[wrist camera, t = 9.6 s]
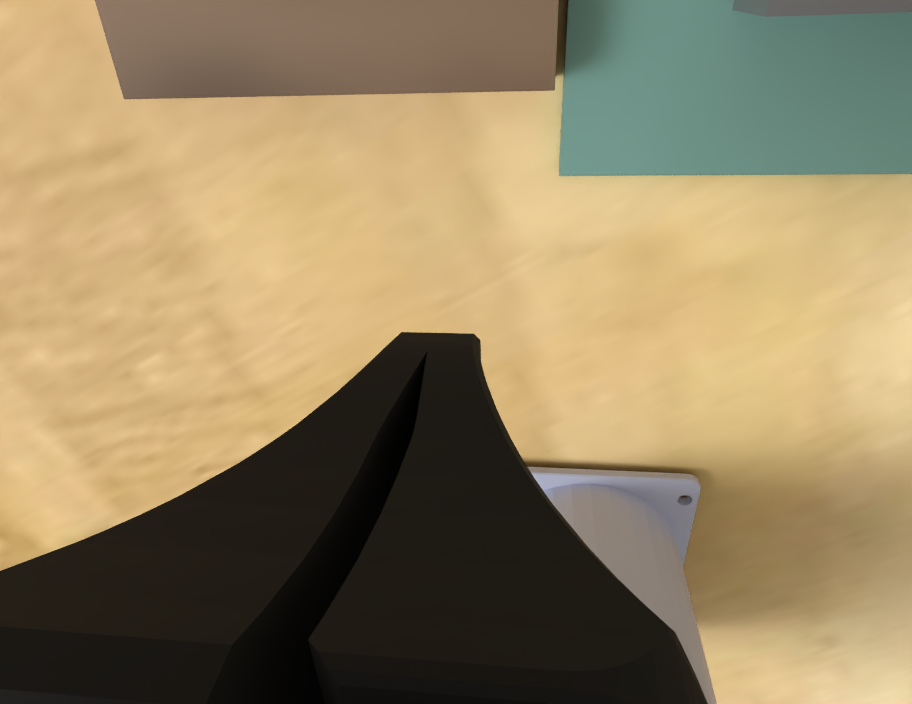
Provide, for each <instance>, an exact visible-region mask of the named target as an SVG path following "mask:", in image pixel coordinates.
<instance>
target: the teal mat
mask: <svg viewBox="0 0 912 704" xmlns="http://www.w3.org/2000/svg"><path fill="white" fill-rule="evenodd" d="M733 4H734V0H568V5H567V25H566V44H565V64H564V83H563V103H562V122H561V142H560V162H559V176H634V175H805V174H912V12H900V13H869V14H838V15H807V16H777V17H763V16H759V15H754V14H749V13H744V12H739V11H734V10H732V9H733Z"/></svg>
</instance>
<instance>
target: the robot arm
mask: <svg viewBox="0 0 912 704" xmlns="http://www.w3.org/2000/svg"><path fill="white" fill-rule="evenodd" d="M700 491H701V486H700V483H699V480H698V479H697V477H695V476H694V475H691V474H683V473H661V472H638V471H615V470H593V469H570V468H547V467H527V466H526V464H525V462H524V461H523V459H522V458H521V456H520V454H519V452H518V451H517V449H516V447H515V445H514V443H513V442H512V440H511V438H510V436H509V434H508V432H507V430H506V428H505V426H504V424H503V422H502V420H501V418H500V415H499V413H498V411H497V409H496V406H495V404H494V401H493V398H492V396H491V393H490V391H489V388H488V385H487V382H486V379H485V376H484V372H483V368H482V364H481V345H480V339H479V338H478V337H476V336H475V335H474V334H458V333H411V332H401V333H400V334H399V335H398V336H397V337H396V338H395V339H394V340H393V341H392V342H390V343H389V344H388V345H387V346H386V347H385V348H384V349H383V350H382V351H381V352H380V353H379V354H378V355H377V356H376V357H375V358H374V359H373V360H371V361H370V362H369V363H368V364H367V365H366V366H365V367H364V368H363V369H362V370H361V371H360V372H359V373H358V374H357V375H355V376H354V377H353V378H352V379H351V380H350V381H349V382H348V383H347V384H345V385H344V386H343V387H342V388H341V389H340V390H339V391H338V392H337V393H335V394H334V395H333V396H332V397H330V398H329V399H328V400H327V401H325V402H324V403H323V404H322V405H320V406H319V407H318V408H317V409H315V410H314V411H313V412H312V413H310V414H309V415H308V416H307V417H305V418H304V419H303V420H302V421H300V422H299V423H298V424H297V425H295V426H294V427H292V428H291V429H290V430H288V431H287V432H285V433H284V434H283V435H281V436H280V437H278V438H277V439H275V440H274V441H272V442H271V443H269V444H268V445H266V446H265V447H263V448H262V449H260V450H259V451H257V452H256V453H254V454H252V455H251V456H249V457H248V458H246V459H245V460H243V461H241V462H240V463H238V464H236V465H235V466H233V467H231V468H229V469H227V470H226V471H224V472H222V473H220V474H218V475H216V476H215V477H213V478H211V479H209V480H207V481H206V482H204V483H202V484H200V485H198V486H197V487H195V488H193V489H191V490H189V491H187V492H186V493H184V494H182V495H180V496H178V497H176V498H174V499H172V500H170V501H168V502H166V503H164V504H162V505H160V506H158V507H156V508H154V509H151V510H149V511H147V512H145V513H143V514H141V515H139V516H137V517H134V518H132V519H130V520H128V521H125V522H123V523H121V524H119V525H116V526H114V527H112V528H110V529H107V530H105V531H103V532H100V533H98V534H96V535H93V536H91V537H88V538H86V539H83V540H81V541H79V542H76V543H74V544H71V545H68V546H66V547H63V548H60V549H58V550H55V551H52V552H50V553H47V554H44V555H42V556H39V557H36V558H34V559H31V560H28V561H26V562H23V563H20V564H18V565H15V566H12V567H10V568H7V569H4V570H2V571H0V704H717V702H716V698H715V694H714V690H713V686H712V682H711V678H710V674H709V670H708V666H707V662H706V658H705V654H704V650H703V646H702V642H701V638H700V634H699V630H698V626H697V622H696V618H695V614H694V611H693V607H692V603H691V599H690V595H689V591H688V587H687V583H686V579H685V575H684V571H683V565H684V561H685V556H686V552H687V548H688V543H689V539H690V535H691V530H692V526H693V522H694V517H695V513H696V509H697V504H698V500H699V496H700ZM683 495H688V496H687V497H685V498H680V496H683Z"/></svg>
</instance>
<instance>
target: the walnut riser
mask: <svg viewBox="0 0 912 704" xmlns="http://www.w3.org/2000/svg"><path fill="white" fill-rule="evenodd" d="M95 2H96V5H97V9H98V12H99V16H100V19H101V22H102V26H103V29H104V32H105V36H106V39H107V43H108V46H109V49H110V53H111V56H112V60H113V63H114V66H115V70H116V73H117V77H118V80H119V83H120V87H121V90H122V93H123V97H124V99H158V98H207V97H256V96H305V95H353V94H402V93H451V92H500V91H549V90H555V72H556V49H557V27H558V4H559V0H95Z"/></svg>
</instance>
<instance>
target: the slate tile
mask: <svg viewBox="0 0 912 704" xmlns="http://www.w3.org/2000/svg"><path fill="white" fill-rule="evenodd" d="M732 10H734V11H739V12H744V13H749V14H754V15H759V16H763V17H777V16H807V15H838V14H869V13H900V12H912V0H734V4H733V9H732Z"/></svg>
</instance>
